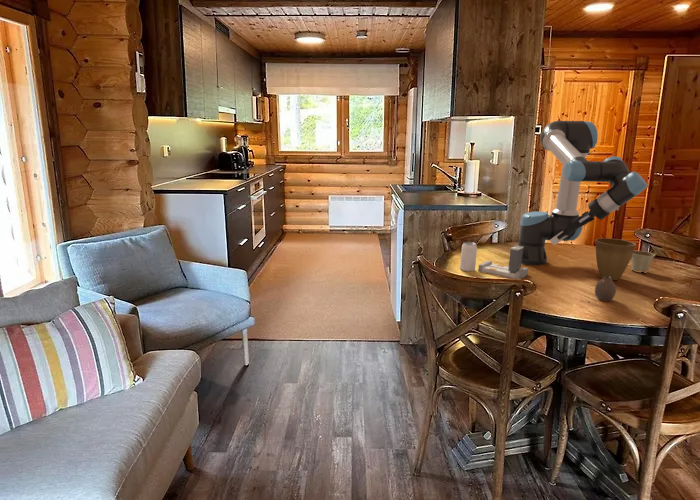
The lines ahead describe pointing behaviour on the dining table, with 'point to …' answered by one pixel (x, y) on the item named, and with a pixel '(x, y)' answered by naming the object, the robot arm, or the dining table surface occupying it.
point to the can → (468, 256)
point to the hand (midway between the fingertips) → (552, 242)
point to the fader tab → (515, 258)
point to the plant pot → (613, 256)
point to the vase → (605, 289)
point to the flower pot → (641, 260)
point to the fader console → (501, 270)
